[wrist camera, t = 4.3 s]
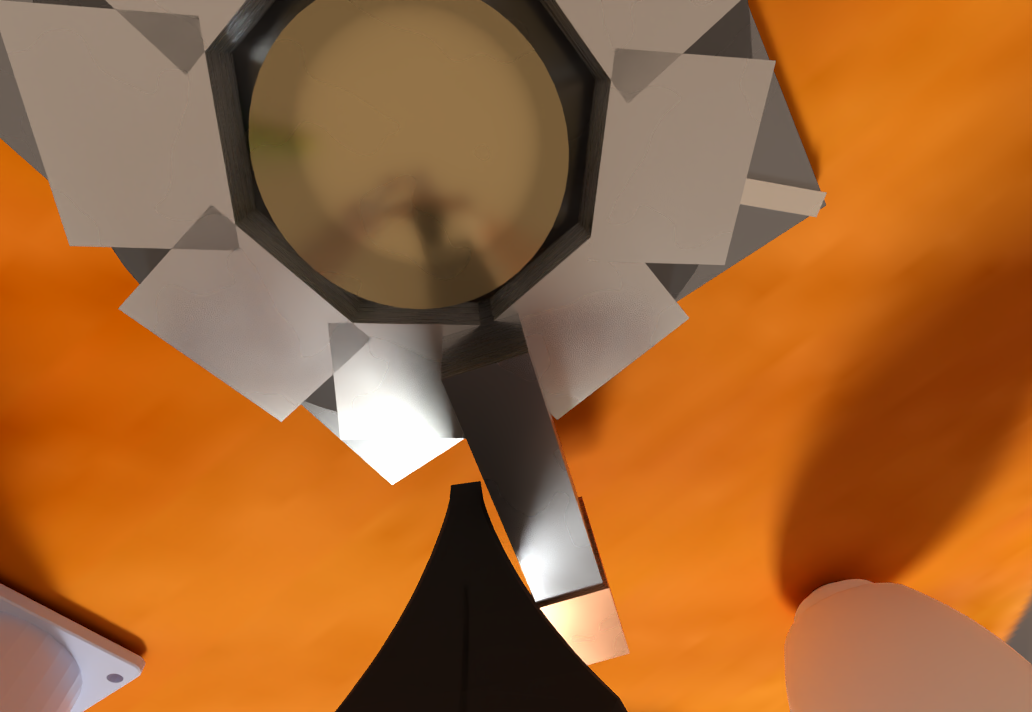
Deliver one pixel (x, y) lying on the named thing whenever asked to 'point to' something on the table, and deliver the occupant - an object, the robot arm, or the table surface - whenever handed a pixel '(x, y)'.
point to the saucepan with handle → (387, 329)
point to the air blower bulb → (897, 655)
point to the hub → (439, 154)
